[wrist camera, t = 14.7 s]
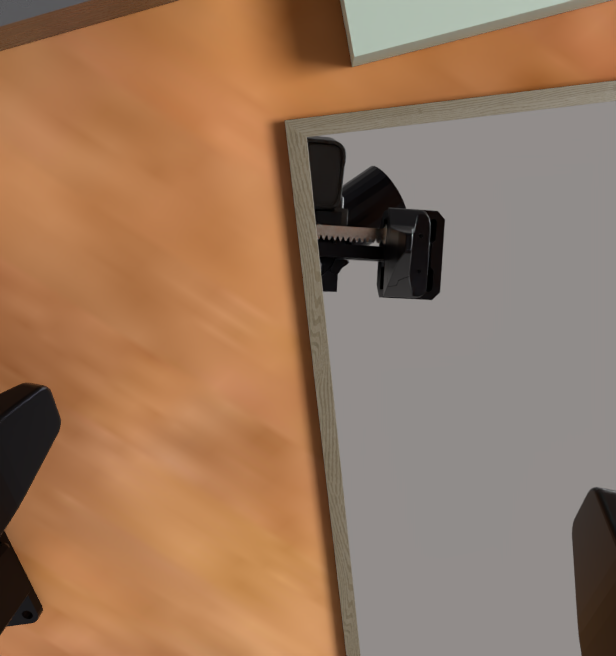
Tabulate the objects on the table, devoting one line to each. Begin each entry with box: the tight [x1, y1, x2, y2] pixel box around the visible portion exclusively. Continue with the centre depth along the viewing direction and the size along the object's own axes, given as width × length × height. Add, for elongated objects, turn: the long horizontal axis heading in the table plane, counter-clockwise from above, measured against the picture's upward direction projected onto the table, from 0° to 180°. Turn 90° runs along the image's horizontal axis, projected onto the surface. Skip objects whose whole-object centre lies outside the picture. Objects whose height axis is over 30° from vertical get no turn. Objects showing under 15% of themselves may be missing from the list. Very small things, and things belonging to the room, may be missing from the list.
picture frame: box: [285, 81, 616, 656], centre depth 21 cm, size 19×1×28 cm
